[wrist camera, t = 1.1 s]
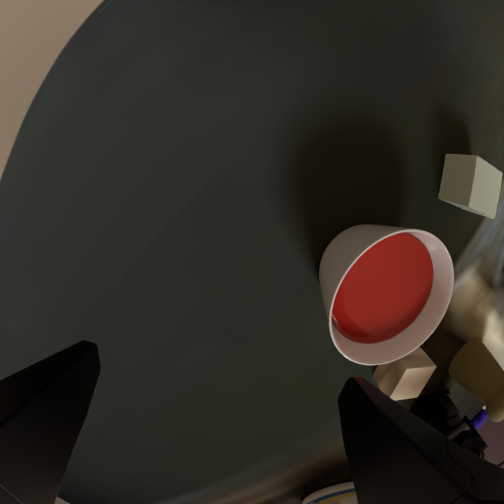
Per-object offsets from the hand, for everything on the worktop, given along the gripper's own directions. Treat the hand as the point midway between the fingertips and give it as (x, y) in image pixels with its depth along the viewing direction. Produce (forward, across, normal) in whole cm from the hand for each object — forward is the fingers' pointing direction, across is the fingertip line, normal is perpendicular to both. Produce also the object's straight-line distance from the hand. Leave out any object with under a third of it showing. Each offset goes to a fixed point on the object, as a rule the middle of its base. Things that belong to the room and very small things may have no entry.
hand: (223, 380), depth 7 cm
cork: (+13, -31, +10) cm, 35 cm away
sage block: (+13, -18, -9) cm, 24 cm away
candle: (+13, -10, 0) cm, 17 cm away
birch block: (+13, -18, +9) cm, 24 cm away
